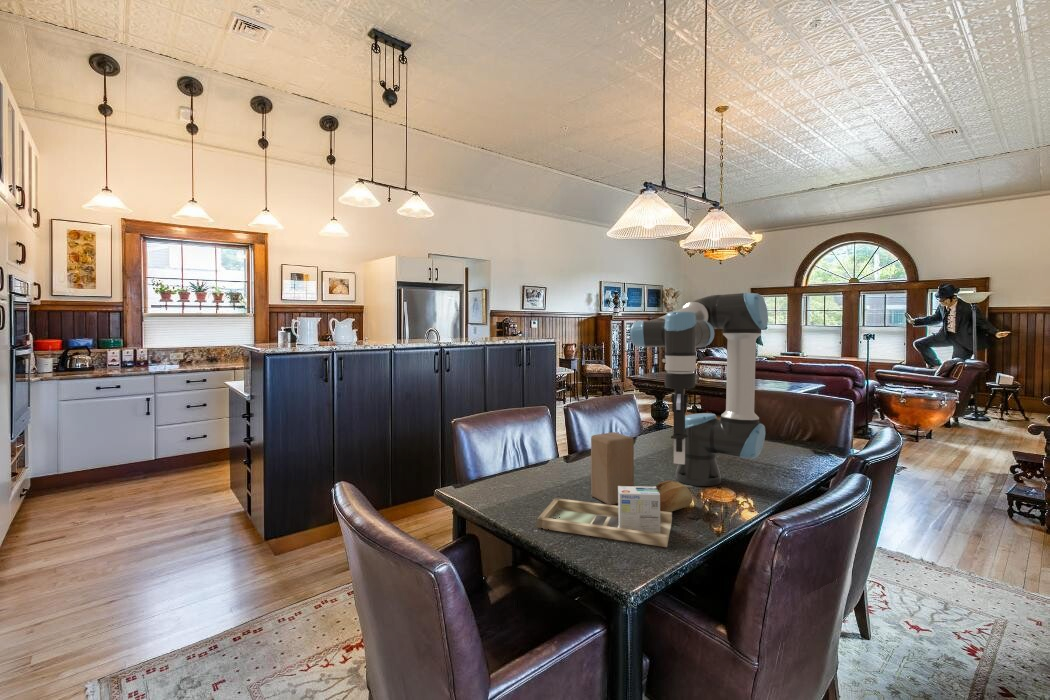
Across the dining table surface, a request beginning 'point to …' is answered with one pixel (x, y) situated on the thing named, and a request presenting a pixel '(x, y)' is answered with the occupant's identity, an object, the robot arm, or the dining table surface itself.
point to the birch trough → (599, 522)
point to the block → (611, 465)
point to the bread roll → (673, 496)
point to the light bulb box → (639, 508)
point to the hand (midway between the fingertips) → (679, 463)
